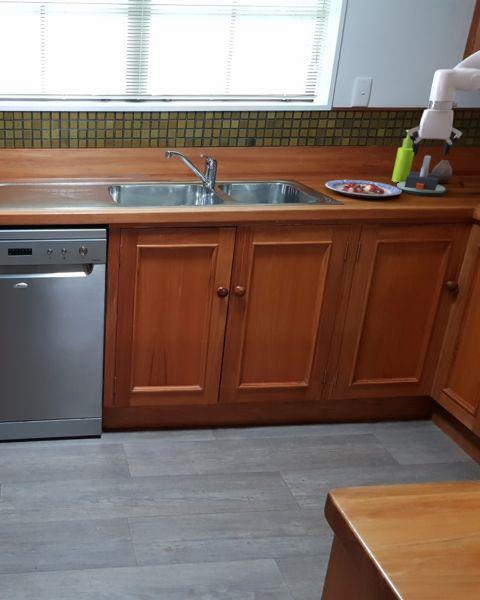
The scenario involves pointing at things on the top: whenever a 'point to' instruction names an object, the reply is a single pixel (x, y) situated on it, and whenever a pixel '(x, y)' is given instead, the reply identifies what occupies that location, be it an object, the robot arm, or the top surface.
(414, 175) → the dish rack
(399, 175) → the soap dispenser
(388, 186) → the ceramic plate
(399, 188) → the turntable base
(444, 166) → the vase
